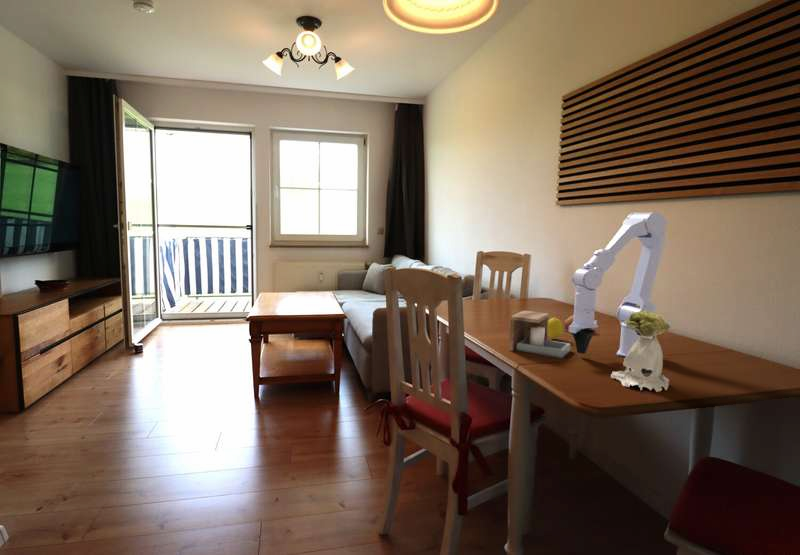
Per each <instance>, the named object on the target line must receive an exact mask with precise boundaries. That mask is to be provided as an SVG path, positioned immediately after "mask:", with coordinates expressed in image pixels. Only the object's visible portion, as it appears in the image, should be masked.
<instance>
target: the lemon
mask: <svg viewBox="0 0 800 555" xmlns="http://www.w3.org/2000/svg"><path fill="white" fill-rule="evenodd" d="M563 330H564V325H563V322H562V320H560V319H559V318H558V317H557V316H553V317H551V318H549V322H548V336H549V338H550V337H551V339H553V340H555V339H557V338H559V337H561V336H562V334H563Z"/></svg>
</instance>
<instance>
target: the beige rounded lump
mask: <svg viewBox="0 0 800 555" xmlns="http://www.w3.org/2000/svg"><path fill="white" fill-rule="evenodd" d="M544 335H545V328H544V327H540V326H531V327H530V344H531V345H537V346H543V347H544Z"/></svg>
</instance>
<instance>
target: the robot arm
mask: <svg viewBox="0 0 800 555" xmlns="http://www.w3.org/2000/svg"><path fill="white" fill-rule="evenodd" d="M667 226H668V221H667V219H666V217H665V216H664V214H663V213H661V212H660V211H652V212H636V211H635V212H631V213H630V214H629V215H627V217H626V218H625V219H624V220H623V222H622V226H621V228H619V230H618V231H617V232H616V234H614V237H613V238H612V239H611V240H610V241H609V243H608V244H607V246H606V247H605V248H600V249H598V250H595V251H594V252H593V256H592V257H591V258H590V259H589V261H587V263H585V264H583V267H581V268H578V269H577V270H576V271H575V272H574V274H573V276H572V277H571V281H572V283H573V285H574V291H575V292H574V293H575V294H574V305H573V306H574V308H573V316H574V321H573V322H572V324H571V325H570V326H569V332H568V333H570V332H571V334H572V337H573V339H574V343H575V348H576V352H577V353H578V354H583V355H584V354H586V353H587V350H588V347H589V344H590V342H591V339H592V338H593V336H594V335H595V333H596V330H595V328H598V327H599V325H598V320H596V319H595V313H596V312H595V311H596V301H597V300H596V297H597V288H599V287H600V286H601V285H602V283H603V278H604V275H605V274H606V273H607V271H609V269H610V268H612V266H613V265H614V263H615V262H616V255H617V254H619V252H620V251H621V250H622V249H624V247H626V245H627V244H628V243H629V242H631V240H633V238H636V239H638V240H639V241H640V243H641V244H642V248H641V252H640V256H639V259H638V264H637V267H636V270H635V275H634V278H633V282H632V285H631V289H630V292H629V294H628V295H627V296H625V297H624V298H622V301H621V304H620V305H619V307H618V308H617V311H616V317H617V319H618V321H619V324H620V326H621V329H620V340H619V342H620V343H619V349H618V350H617V352H616V355H617V356H622V357H626V355H627V354H628V352H629V351H630V349H631V347H632V346H633V345H634V343H635V342H636V341H637V340H638V339H639V337H640V336H639V335H637V334H636V331H635V330H632V329H630V328H629V327H627V326H626V324H624V323H623V322H624V321H630V320H629V318H630V316H631V314H632V313H635V312H640V311H648V312H652V313H655V309H656V305H655V303H654V302H653V301H652V299H651V295H652V291H653V288H654V284H655V281H656V277H657V273H658V269H659V265H660V261H661V258H662V254H663V251H664V248H665V247H664V246H665V242H666V238H665V233H666V229H667ZM590 328H592V329H590Z"/></svg>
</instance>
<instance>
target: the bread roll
mask: <svg viewBox="0 0 800 555" xmlns="http://www.w3.org/2000/svg"><path fill="white" fill-rule="evenodd" d="M573 321H574V315H570V316H569V317H568V318H567V319H565V320H564V325H563V330H564V331H565V332H567V333H571V332H569V326H570V325H571V324H572V322H573ZM590 329H592V330H593V328H590ZM571 334H572V333H571Z"/></svg>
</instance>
